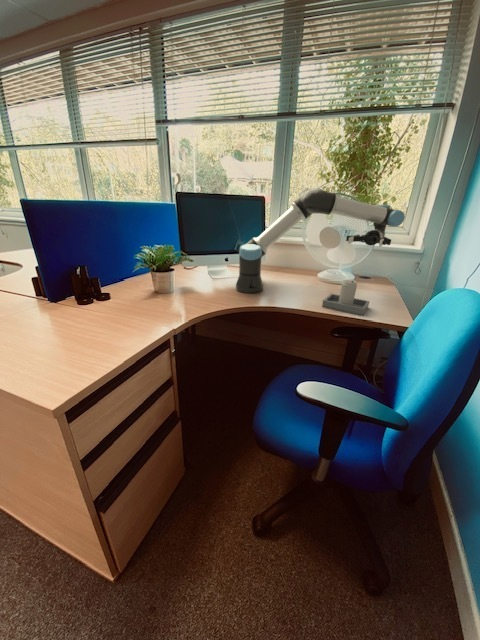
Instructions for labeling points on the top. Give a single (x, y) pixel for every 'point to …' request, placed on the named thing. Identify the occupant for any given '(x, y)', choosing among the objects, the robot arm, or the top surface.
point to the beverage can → (347, 292)
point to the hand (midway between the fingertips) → (364, 242)
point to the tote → (357, 308)
